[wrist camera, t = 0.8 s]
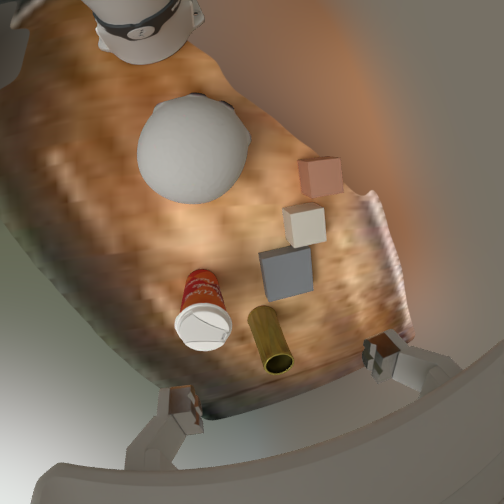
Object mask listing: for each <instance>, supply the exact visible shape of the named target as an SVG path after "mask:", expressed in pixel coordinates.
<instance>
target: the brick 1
mask: <svg viewBox="0 0 504 504" xmlns="http://www.w3.org/2000/svg"><path fill="white" fill-rule="evenodd" d="M297 162H298V169H299V177H300V184H301V192H302V194H304V195H306V196H308V197H310V198H316V197H321V196H327V195H333V194H339V193H344V189H343V178H342V168H341V159H340V158H338V157H330V156H326V157H318V158H310V159H303V160H297Z"/></svg>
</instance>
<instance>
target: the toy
mask: <svg viewBox="0 0 504 504" xmlns="http://www.w3.org/2000/svg"><path fill="white" fill-rule="evenodd" d="M250 142H251V135H250V133H249V131H248V130H247V129H246V128H245V126H244V125H243V123H242V122H241V120H240V119H239V117H238V116H237V115H236V114H235V111H234V108H233V106H232V105H230V104H228V103H227V102H225V101H215V100H213V99H210V98H207V96H206V95H205V94H202V93H190V94H189V95H187V96H184V97H180V98H175V99H172V100H169V101H165V102H161V103H159V104H157V105H156V106H155V108H154V111H153V114H152V115H151V116H150V118H149V119H148V121H147V122H146V124H145V126H144V128H143V130H142V132H141V135H140V138H139V142H138V148H137V161H138V166H139V170H140V173H141V175H142V177H143V178H144V180H145V182H146V183H147V184H148V185H149V186H150V187H151V188H152V189H153V190H154V191H155V192H156V193H158V194H159V195H161V196H163V197H165V198H167V199H169V200H172V201H175V202H178V203H184V204H201V203H206V202H210V201H212V200H215V199H217V198H218V197H220V196H222V195H223V194H224V193H226V192H227V191H228V190H229V189H230V188H231V187H232V186H233V185H234V183H235V182H236V181H237V179H238V178H239V176H240V174H241V172H242V170H243V168H244V165H245V162H246V158H247V152H248V146H249V144H250Z"/></svg>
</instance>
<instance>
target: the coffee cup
mask: <svg viewBox="0 0 504 504" xmlns="http://www.w3.org/2000/svg"><path fill="white" fill-rule="evenodd" d="M175 329H176V331H177V333H178V335H179V336H180V338H181V339H182V340H183V342H184V343H185V344H186V345H187V346H188V347H190V348H192V349H195V350H198V351H210V350H214V349H217V348H219V347H220V346H222V345H223V344H224V343H225V340H226V339H227V338H228V337H229V335H230V333H231V330H232V321H231V318H230V316H229V314H228V313H227V312H226V308H225V305H224V301H223V297H222V294H221V290H220V287H219V284H218V281H217V278H216V276H215V275H214V274H213V273H212V272H210V271H208V270H204V269H200V270H196V271H194V272H192V273H191V274H190V275H189V276H188V278H187V281H186V285H185V289H184V294H183V299H182V305H181V310H180V314H179V315H178V316H177V317H176V320H175Z"/></svg>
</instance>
